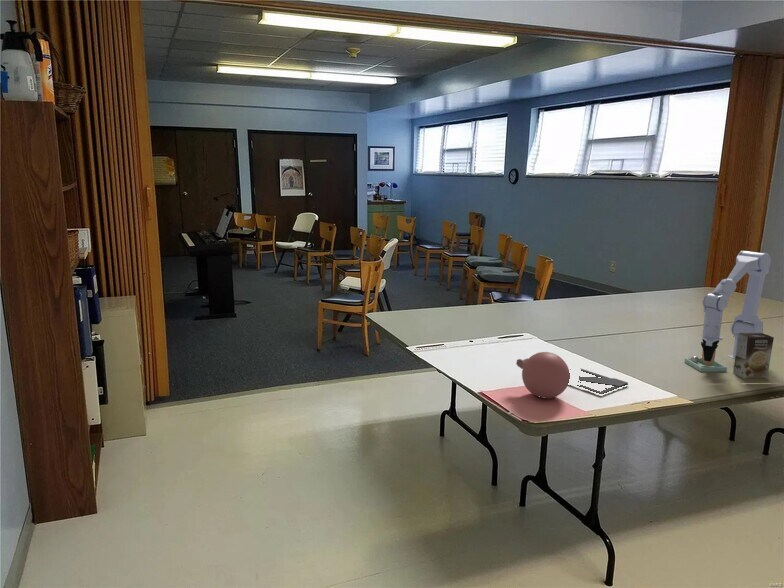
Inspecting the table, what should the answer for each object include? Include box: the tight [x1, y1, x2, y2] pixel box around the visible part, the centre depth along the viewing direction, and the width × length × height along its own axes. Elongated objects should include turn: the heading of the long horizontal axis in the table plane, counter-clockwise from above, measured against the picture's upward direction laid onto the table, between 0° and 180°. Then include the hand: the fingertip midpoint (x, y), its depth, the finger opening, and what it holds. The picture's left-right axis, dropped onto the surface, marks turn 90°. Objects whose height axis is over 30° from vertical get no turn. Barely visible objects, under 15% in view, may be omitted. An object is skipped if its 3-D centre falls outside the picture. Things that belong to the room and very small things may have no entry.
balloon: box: [515, 351, 570, 399], centre depth 185 cm, size 15×20×15 cm
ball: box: [689, 355, 700, 364], centre depth 215 cm, size 3×3×3 cm
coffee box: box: [732, 332, 775, 379], centre depth 201 cm, size 9×6×16 cm
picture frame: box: [577, 368, 629, 394], centre depth 197 cm, size 16×2×21 cm
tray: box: [684, 357, 728, 373], centre depth 212 cm, size 10×11×2 cm
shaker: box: [700, 349, 717, 366], centre depth 211 cm, size 4×4×7 cm
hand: (708, 359), depth 211 cm, fingers closed on shaker, 4 cm apart
